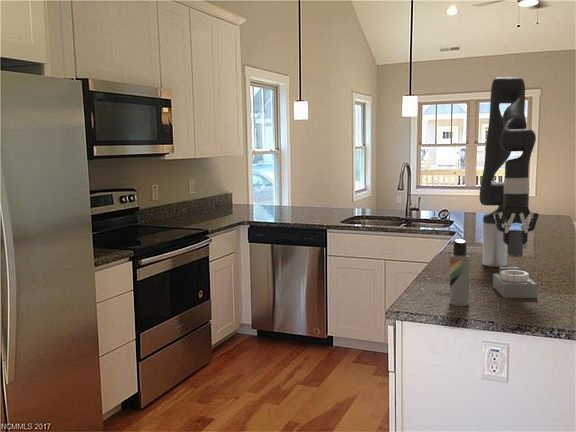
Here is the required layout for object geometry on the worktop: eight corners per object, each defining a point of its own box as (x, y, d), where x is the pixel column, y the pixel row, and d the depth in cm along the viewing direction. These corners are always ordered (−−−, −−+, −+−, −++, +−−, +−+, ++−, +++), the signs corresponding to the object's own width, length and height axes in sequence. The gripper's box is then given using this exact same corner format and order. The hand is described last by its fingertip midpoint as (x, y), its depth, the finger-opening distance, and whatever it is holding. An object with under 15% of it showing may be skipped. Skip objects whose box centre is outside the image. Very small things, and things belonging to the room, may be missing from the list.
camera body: (491, 286, 188) (491, 266, 187) (523, 286, 187) (523, 266, 186) (501, 297, 174) (502, 276, 173) (536, 298, 173) (537, 276, 172)
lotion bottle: (465, 300, 172) (466, 238, 169) (471, 306, 166) (472, 241, 164) (447, 301, 172) (447, 238, 169) (453, 306, 166) (453, 241, 164)
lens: (505, 254, 181) (506, 230, 180) (520, 253, 181) (520, 230, 180) (509, 256, 177) (510, 232, 176) (524, 256, 176) (524, 232, 175)
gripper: (535, 190, 179) (534, 241, 181) (490, 191, 181) (489, 242, 183) (543, 192, 172) (541, 246, 174) (496, 193, 173) (495, 246, 175)
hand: (514, 243), depth 178 cm, fingers closed on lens, 4 cm apart
